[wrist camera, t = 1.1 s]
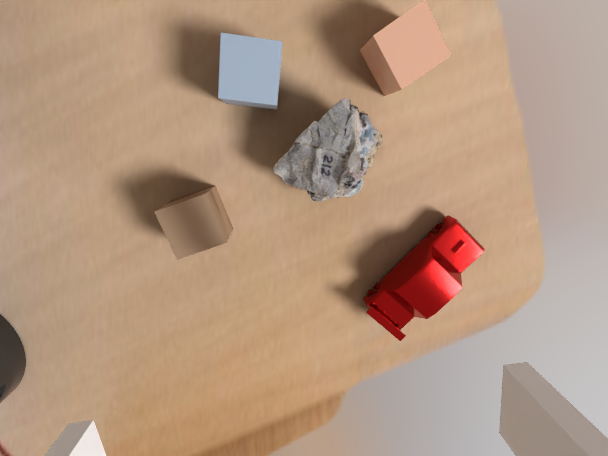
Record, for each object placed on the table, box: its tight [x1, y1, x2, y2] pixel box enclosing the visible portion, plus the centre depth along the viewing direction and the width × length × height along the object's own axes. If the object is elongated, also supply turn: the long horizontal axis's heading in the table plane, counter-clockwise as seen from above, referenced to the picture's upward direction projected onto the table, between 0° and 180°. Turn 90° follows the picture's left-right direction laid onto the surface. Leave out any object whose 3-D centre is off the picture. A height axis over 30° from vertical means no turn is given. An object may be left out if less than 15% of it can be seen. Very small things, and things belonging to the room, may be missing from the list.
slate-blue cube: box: [218, 33, 282, 110], centre depth 30 cm, size 5×5×5 cm
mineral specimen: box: [273, 99, 383, 201], centre depth 32 cm, size 10×8×10 cm
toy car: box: [363, 216, 484, 341], centre depth 37 cm, size 14×6×5 cm, turn 137°
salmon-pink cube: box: [360, 0, 451, 96], centre depth 30 cm, size 5×5×5 cm
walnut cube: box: [154, 186, 233, 260], centre depth 33 cm, size 5×5×5 cm
